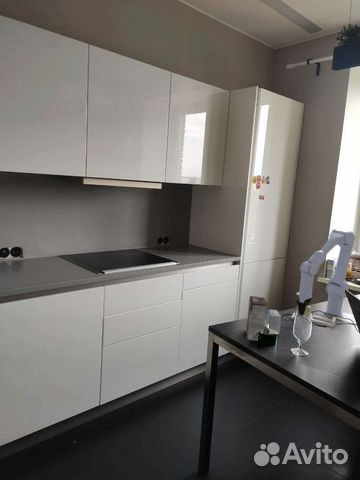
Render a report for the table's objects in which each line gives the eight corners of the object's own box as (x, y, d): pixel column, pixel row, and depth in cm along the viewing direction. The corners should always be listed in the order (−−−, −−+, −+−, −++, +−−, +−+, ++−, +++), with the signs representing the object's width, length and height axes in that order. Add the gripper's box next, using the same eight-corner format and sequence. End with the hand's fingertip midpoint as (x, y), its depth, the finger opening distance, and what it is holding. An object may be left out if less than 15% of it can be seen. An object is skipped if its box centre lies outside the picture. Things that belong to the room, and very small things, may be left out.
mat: (294, 312, 184) (294, 311, 184) (312, 316, 180) (313, 316, 180) (290, 317, 176) (290, 317, 176) (309, 322, 172) (309, 321, 172)
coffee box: (245, 330, 157) (249, 295, 154) (260, 332, 157) (264, 297, 154) (247, 339, 148) (251, 302, 145) (262, 341, 148) (267, 304, 145)
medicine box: (279, 335, 155) (281, 316, 153) (269, 334, 155) (271, 315, 153) (274, 327, 162) (277, 309, 161) (265, 327, 163) (267, 309, 161)
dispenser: (312, 317, 179) (313, 311, 178) (335, 322, 174) (336, 317, 173) (309, 321, 173) (310, 315, 173) (333, 327, 168) (334, 321, 167)
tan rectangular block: (297, 314, 181) (298, 303, 180) (309, 317, 178) (311, 305, 177) (295, 316, 178) (297, 304, 177) (308, 319, 175) (309, 307, 174)
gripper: (301, 281, 183) (297, 306, 186) (294, 287, 171) (291, 314, 173) (315, 284, 180) (311, 309, 183) (310, 291, 168) (306, 318, 170)
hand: (302, 312), depth 178 cm, fingers open, 7 cm apart
